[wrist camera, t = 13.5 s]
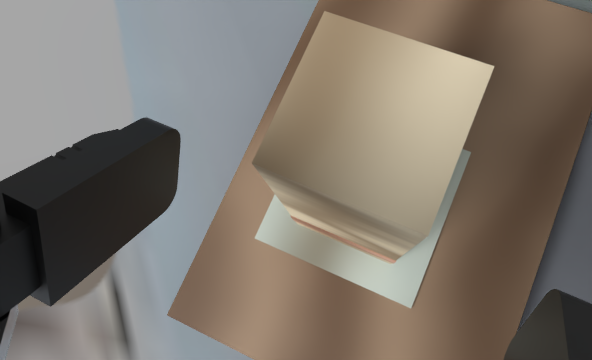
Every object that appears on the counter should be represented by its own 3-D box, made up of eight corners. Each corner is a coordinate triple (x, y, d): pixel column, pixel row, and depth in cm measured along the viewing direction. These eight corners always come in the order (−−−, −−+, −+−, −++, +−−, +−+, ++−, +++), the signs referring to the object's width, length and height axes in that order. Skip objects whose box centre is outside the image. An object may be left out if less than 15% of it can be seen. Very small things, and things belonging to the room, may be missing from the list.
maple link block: (428, 172, 21) (495, 65, 11) (391, 265, 20) (429, 238, 10) (335, 136, 22) (323, 9, 12) (296, 224, 21) (249, 163, 11)
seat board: (604, 39, 23) (624, 19, 21) (461, 456, 19) (471, 471, 18) (346, -38, 26) (346, -61, 24) (178, 313, 22) (165, 315, 21)
